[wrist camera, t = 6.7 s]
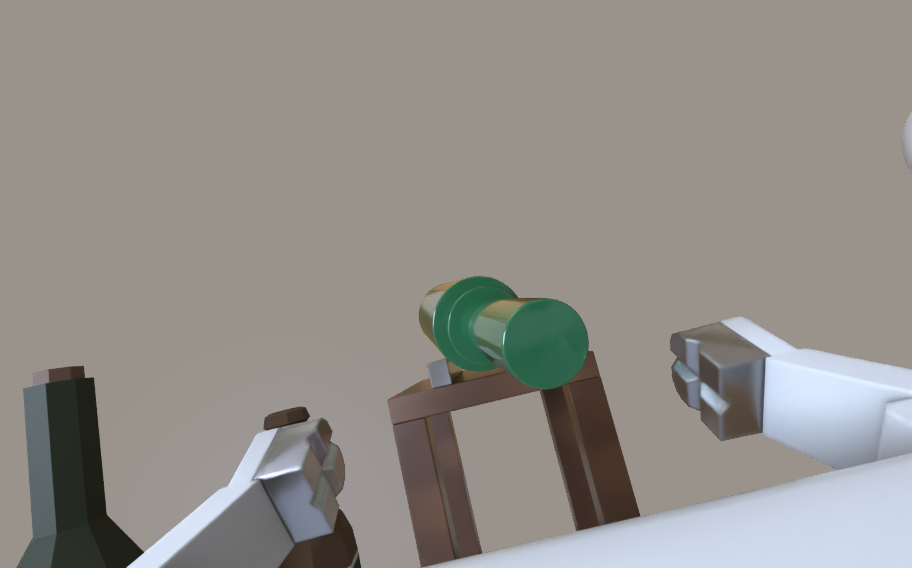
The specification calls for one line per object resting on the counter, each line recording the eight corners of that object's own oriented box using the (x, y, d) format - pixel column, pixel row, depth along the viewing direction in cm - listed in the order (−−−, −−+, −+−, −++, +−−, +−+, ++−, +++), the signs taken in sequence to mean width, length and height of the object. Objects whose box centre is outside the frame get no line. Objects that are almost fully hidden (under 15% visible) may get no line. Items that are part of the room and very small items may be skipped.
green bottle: (433, 356, 29) (408, 297, 29) (490, 331, 30) (467, 273, 30) (502, 457, 11) (438, 298, 11) (647, 387, 12) (588, 236, 11)
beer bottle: (259, 762, 31) (213, 428, 35) (326, 677, 38) (282, 409, 42) (348, 771, 28) (289, 411, 32) (401, 678, 36) (347, 394, 40)
